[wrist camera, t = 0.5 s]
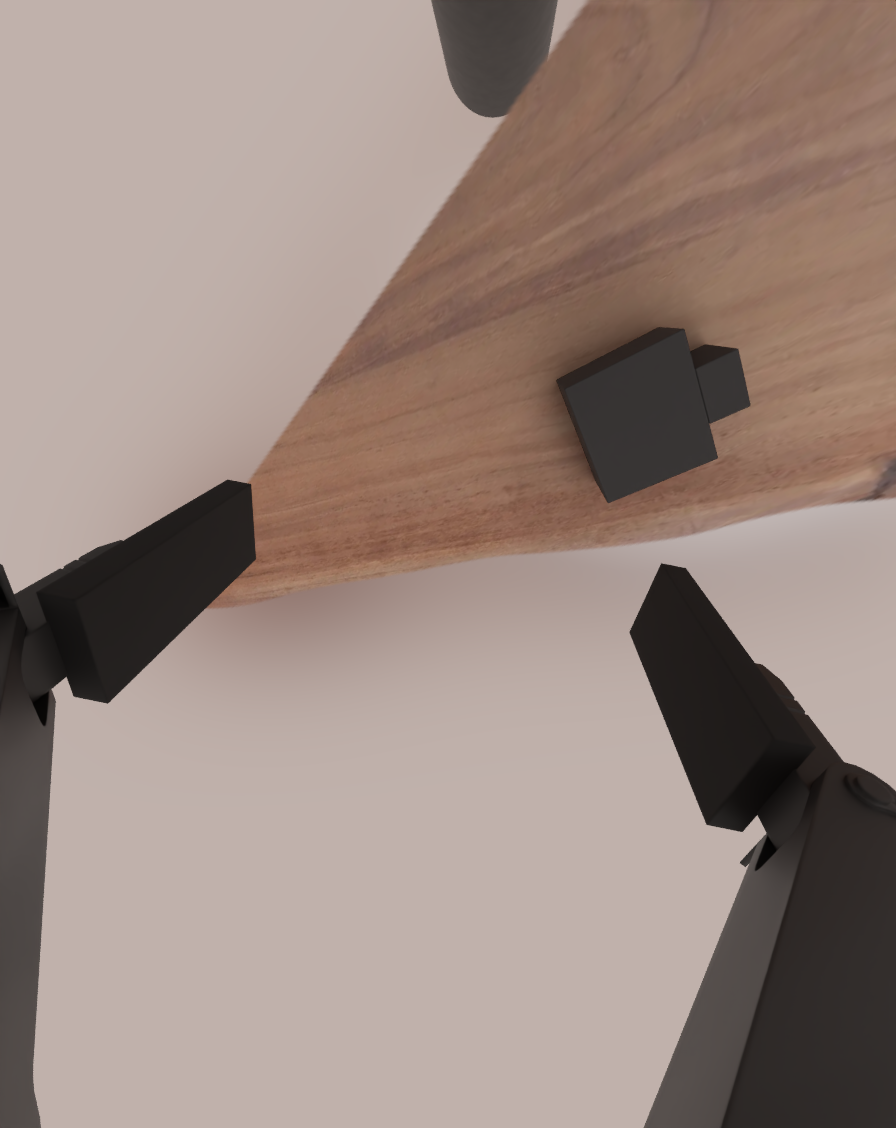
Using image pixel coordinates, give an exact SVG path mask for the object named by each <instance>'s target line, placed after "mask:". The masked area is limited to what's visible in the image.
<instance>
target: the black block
mask: <svg viewBox="0 0 896 1128" xmlns="http://www.w3.org/2000/svg"><path fill="white" fill-rule="evenodd" d="M557 383H558V386H559V388H560V391H561V394H562V396H563V399H564V401H565V404H566V406H567V409H568V412H569V414H570V417H571V419H572V422H573V424H574V427H575V430H576V432H577V435H578V437H579V440H580V442H581V445H582V448H583V450H584V453H585V455H586V458H587V460H588V463H589V466H590V468H591V471H592V473H593V476H594V478H595V481H596V483H597V485H598V486H599V488H600V490H601V492H602V493H603V495H604V497H605V499H606V500H607V502H608V503H610V502H612V501H615V500H617V499H620V498H622V497H625V496H627V495H630V494H632V493H634V492H637V491H639V490H642V489H644V488H647V487H649V486H652V485H654V484H656V483H659V482H661V481H664V480H666V479H669V478H671V477H673V476H676V475H678V474H681V473H683V472H686V471H688V470H691V469H693V468H695V467H698V466H700V465H703V464H705V463H708V462H710V461H713V460H715V459H717V458H718V456H717V452H716V448H715V445H714V441H713V437H712V433H711V429H710V425H709V423H713V422H715V421H717V420H719V419H722V418H724V417H726V416H729V415H731V414H733V413H736V412H738V411H740V410H742V409H745V408H747V407H749V406H750V401H749V396H748V391H747V387H746V382H745V378H744V373H743V369H742V364H741V359H740V355H739V350H738V349H736V348H729V347H721V346H713V345H703V346H701V347H699V348H697V349H695V350H693V351H691V352H690V349H689V345H688V341H687V337H686V334H685V330H684V329H678V328H662V327H658V328H656V329H654V330H652V331H650V332H648V333H647V334H645V335H643V336H641V337H639V338H637V339H635V340H633V341H631V342H629V343H627V344H625V345H623V346H621V347H619V348H617V349H615V350H614V351H612V352H610V353H608V354H606V355H604V356H602V357H600V358H598V359H596V360H594V361H592V362H590V363H588V364H586V365H584V366H583V367H581V368H579V369H577V370H575V371H573V372H571V373H569V374H567V375H565V376H563V377H561V378H559V379H557Z"/></svg>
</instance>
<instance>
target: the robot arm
mask: <svg viewBox="0 0 896 1128" xmlns="http://www.w3.org/2000/svg"><path fill="white" fill-rule="evenodd" d="M254 560H256V554H255V538H254V522H253V507H252V491H251V484H247V483H242V482H237V481H232V480H226V481H224V482H223V483H221V484H219V485H218V486H216V487H214V488H213V489H211V490H209V491H207V492H206V493H204V494H202V495H201V496H199V497H197V498H195V499H194V500H192V501H190V502H189V503H187V504H185V505H183V506H182V507H180V508H178V509H177V510H175V511H173V512H172V513H170V514H168V515H167V516H165V517H163V518H161V519H160V520H158V521H156V522H155V523H153V524H151V525H150V526H148V527H146V528H144V529H143V530H141V531H139V532H137V533H136V534H134V535H132V536H131V537H129V538H127V539H126V540H124V541H122V540H120V541H116V542H113V543H110V544H107V545H104V546H101V547H97V548H96V549H94V550H92V551H90V552H89V553H87V554H85V555H83V556H81V557H80V558H79V560H74V561H73V562H71V563H69V564H67V565H66V566H64V568H63V569H58V570H57V571H55V572H53V573H51V574H50V575H48V576H46V577H44V578H42V579H41V580H39V581H37V582H35V583H34V584H32V585H30V586H28V587H27V588H25V589H23V590H22V591H20V592H18V593H16V594H14V593H13V591H12V588H11V586H10V583H9V580H8V578H7V576H6V573H5V571H4V568H3V565H1V564H0V1128H41V1125H40V1116H39V1112H38V1108H37V1102H36V1098H35V1094H34V1084H33V1057H34V1042H35V1024H36V1010H37V994H38V993H37V992H38V977H39V962H40V946H41V929H42V913H43V897H44V896H43V895H44V881H45V864H46V849H47V848H46V847H47V832H48V816H49V800H50V784H51V766H52V752H53V735H54V718H55V703H56V701H55V698H54V695H53V692H52V690H51V689H52V688H53V687H54V686H56V685H57V684H58V683H59V682H60V681H62V680H63V679H64V678H65V677H67V679H68V682H69V685H70V687H71V690H72V693H73V696H74V697H79V698H83V699H89V700H93V701H98V702H103V703H109V702H110V701H111V700H112V699H113V698H114V697H115V696H116V695H117V694H118V693H119V692H120V691H121V690H122V689H123V688H124V687H125V686H126V685H127V684H128V683H129V682H130V681H131V680H132V679H133V678H135V677H136V676H137V674H139V673H140V672H141V671H142V670H143V669H144V668H145V667H146V666H147V665H148V664H149V663H150V662H151V661H152V660H153V659H154V658H155V657H156V656H157V655H158V654H159V653H160V652H161V651H162V650H163V649H164V648H165V647H166V646H167V645H168V644H169V643H170V642H171V641H172V640H174V639H175V638H176V637H177V636H178V635H179V634H180V633H181V632H182V631H183V629H185V628H186V627H187V626H188V625H189V624H190V623H191V622H192V621H193V620H194V619H195V618H196V617H197V616H198V615H199V614H200V613H201V612H202V611H203V610H204V609H205V608H206V607H207V606H208V605H209V604H210V603H211V602H212V601H213V600H215V599H216V598H217V597H218V596H219V595H220V594H221V593H222V592H223V591H224V590H225V589H226V588H227V587H228V586H229V585H230V584H231V583H232V582H233V581H234V580H235V579H236V578H237V577H238V576H239V575H240V574H241V573H242V572H243V571H244V570H245V569H246V568H247V567H248V566H249V565H250V564H251V563H252V562H253V561H254ZM630 635H631V637H632V640H633V642H634V645H635V647H636V650H637V652H638V655H639V657H640V660H641V662H642V665H643V667H644V670H645V672H646V675H647V677H648V679H649V682H650V685H651V687H652V690H653V692H654V695H655V697H656V700H657V702H658V705H659V707H660V710H661V712H662V715H663V717H664V720H665V722H666V725H667V727H668V729H669V732H670V735H671V737H672V740H673V742H674V745H675V747H676V750H677V752H678V755H679V757H680V760H681V762H682V764H683V767H684V770H685V772H686V775H687V777H688V780H689V782H690V785H691V787H692V789H693V792H694V795H695V797H696V800H697V802H698V805H699V807H700V810H701V812H702V815H703V817H704V819H705V822H706V824H707V825H711V826H716V827H720V828H726V829H730V830H736V831H740V832H743V831H744V830H745V828H746V827H747V826H748V825H749V824H750V822H751V821H752V820H753V819H754V818H755V817H756V816H757V815H758V817H759V819H760V821H761V823H762V825H763V827H764V828H765V831H766V832H767V833H766V835H765V836H764V837H763V838H762V839H761V840H760V841H759V842H758V843H757V845H756V846H755V847H754V848H753V849H752V850H751V851H750V852H749V853H748V854H747V855H746V856H745V857H744V858H743V860H742V861H741V862H740V863H741V864H742V865H744V866H745V867H746V866H747V865H748V864H749V863H750V864H749V866H748V869H747V871H746V874H745V876H744V879H743V881H742V884H741V886H740V889H739V891H738V893H737V896H736V898H735V901H734V904H733V906H732V909H731V911H730V914H729V916H728V918H727V921H726V924H725V926H724V928H723V931H722V933H721V936H720V938H719V941H718V944H717V946H716V948H715V951H714V953H713V956H712V958H711V961H710V964H709V966H708V968H707V971H706V973H705V976H704V978H703V981H702V983H701V986H700V988H699V991H698V994H697V996H696V998H695V1001H694V1003H693V1006H692V1008H691V1011H690V1013H689V1016H688V1018H687V1021H686V1023H685V1026H684V1028H683V1031H682V1033H681V1036H680V1039H679V1041H678V1044H677V1046H676V1048H675V1051H674V1053H673V1056H672V1059H671V1061H670V1064H669V1066H668V1068H667V1071H666V1073H665V1076H664V1078H663V1081H662V1083H661V1086H660V1088H659V1091H658V1094H657V1096H656V1098H655V1101H654V1103H653V1106H652V1108H651V1111H650V1113H649V1116H648V1119H647V1121H646V1123H645V1126H644V1128H896V791H895V790H894V789H893V788H891V787H890V786H889V785H888V784H887V783H885V782H884V781H882V780H881V779H880V778H878V777H877V776H875V775H874V774H872V773H870V772H868V771H866V770H864V769H862V768H860V767H858V766H856V765H852V764H848V763H845V762H843V760H842V759H841V758H840V757H839V755H838V754H837V752H836V751H835V750H834V749H833V747H832V746H831V745H830V743H829V742H828V741H827V739H826V738H825V737H824V736H823V734H822V733H821V732H820V730H819V729H818V728H817V726H816V725H815V724H814V722H813V721H812V720H811V719H810V717H809V716H808V715H805V711H804V710H803V708H802V707H801V705H800V704H799V703H798V702H797V701H795V700H794V696H793V695H792V694H791V692H790V691H789V690H788V689H787V687H786V686H785V685H784V683H783V682H782V681H781V680H780V679H779V678H778V677H776V676H775V675H774V674H773V673H772V672H770V671H769V670H768V669H767V668H766V667H764V666H763V665H761V664H756V663H754V661H753V660H752V659H751V657H750V656H749V654H748V653H747V652H746V651H745V649H744V648H743V646H742V645H741V644H740V642H739V641H738V640H737V638H736V637H735V635H734V634H733V633H732V631H731V630H730V629H729V627H728V626H727V624H726V623H725V622H724V620H723V619H722V617H721V616H720V615H719V613H718V612H717V611H716V609H715V608H714V607H713V605H712V604H711V602H710V601H709V600H708V598H707V597H706V595H705V594H704V593H703V591H702V590H701V589H700V587H699V586H698V585H697V583H696V582H695V580H694V579H693V578H692V576H691V575H690V573H689V572H688V571H687V569H686V568H682V567H677V566H672V565H667V564H661V565H660V567H659V570H658V572H657V574H656V576H655V578H654V580H653V582H652V585H651V587H650V589H649V591H648V594H647V595H646V598H645V600H644V602H643V604H642V606H641V608H640V611H639V613H638V615H637V617H636V619H635V621H634V624H633V626H632V628H631V630H630Z"/></svg>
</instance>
